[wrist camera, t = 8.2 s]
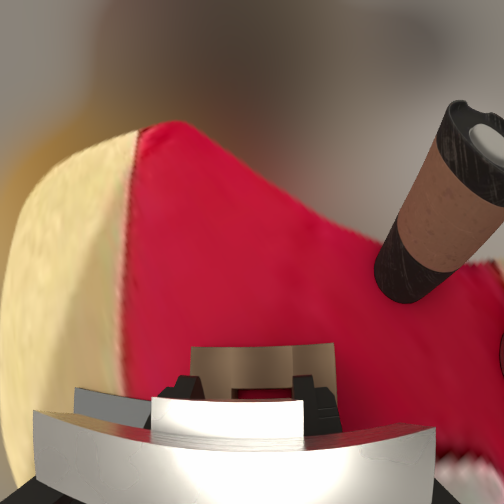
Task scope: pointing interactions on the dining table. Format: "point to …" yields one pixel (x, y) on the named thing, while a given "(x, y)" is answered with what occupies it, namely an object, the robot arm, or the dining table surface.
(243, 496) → the t key
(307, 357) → the socket block
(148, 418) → the robot arm
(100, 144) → the dining table surface
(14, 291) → the dining table surface
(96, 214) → the dining table surface
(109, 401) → the grey mat
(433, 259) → the travel mug
